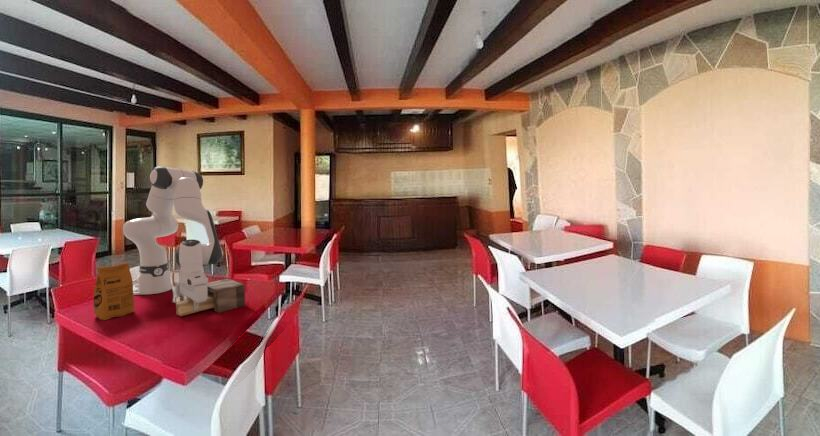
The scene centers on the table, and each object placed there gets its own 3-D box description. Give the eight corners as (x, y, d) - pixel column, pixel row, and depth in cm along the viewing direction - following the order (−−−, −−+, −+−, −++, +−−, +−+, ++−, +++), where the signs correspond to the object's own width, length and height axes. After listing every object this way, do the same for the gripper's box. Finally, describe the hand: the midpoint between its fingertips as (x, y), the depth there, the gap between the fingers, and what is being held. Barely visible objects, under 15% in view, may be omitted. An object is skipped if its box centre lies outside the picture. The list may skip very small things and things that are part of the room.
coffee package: (92, 316, 144) (88, 266, 142) (128, 307, 155) (125, 260, 153) (100, 322, 139) (96, 269, 137) (137, 312, 150) (134, 263, 147)
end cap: (202, 304, 161) (202, 283, 160) (228, 297, 171) (228, 278, 170) (218, 312, 152) (217, 290, 151) (245, 305, 161) (244, 284, 160)
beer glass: (180, 304, 161) (178, 273, 159) (167, 302, 162) (166, 272, 161) (192, 299, 168) (190, 269, 166) (180, 298, 169) (178, 268, 167)
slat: (176, 314, 147) (175, 302, 147) (219, 302, 162) (219, 292, 161) (180, 316, 145) (179, 305, 144) (223, 304, 159) (223, 294, 159)
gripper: (174, 274, 153) (176, 303, 154) (193, 283, 141) (195, 315, 142) (190, 271, 158) (191, 300, 159) (210, 279, 146) (211, 310, 147)
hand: (193, 307), depth 151 cm, fingers closed on slat, 4 cm apart
